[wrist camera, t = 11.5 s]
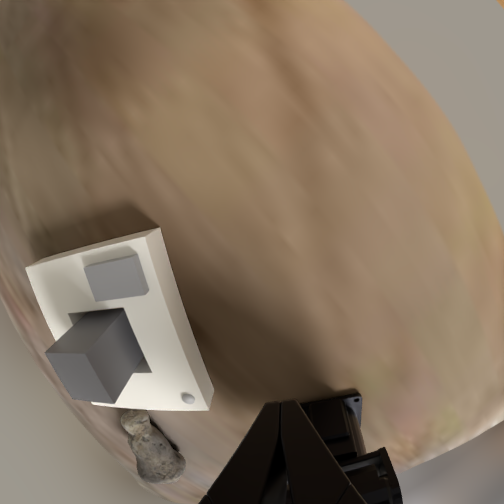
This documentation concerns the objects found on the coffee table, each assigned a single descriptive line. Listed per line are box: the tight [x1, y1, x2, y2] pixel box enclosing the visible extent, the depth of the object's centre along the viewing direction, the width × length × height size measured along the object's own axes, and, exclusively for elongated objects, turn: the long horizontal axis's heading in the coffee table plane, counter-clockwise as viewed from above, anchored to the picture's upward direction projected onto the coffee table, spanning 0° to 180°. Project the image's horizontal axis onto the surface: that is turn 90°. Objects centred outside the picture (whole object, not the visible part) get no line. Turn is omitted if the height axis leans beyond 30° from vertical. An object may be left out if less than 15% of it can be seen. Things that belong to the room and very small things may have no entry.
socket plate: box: [26, 227, 214, 411], centre depth 19 cm, size 14×12×3 cm
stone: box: [121, 409, 186, 484], centre depth 23 cm, size 10×5×8 cm
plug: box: [45, 307, 144, 404], centre depth 18 cm, size 4×4×7 cm
